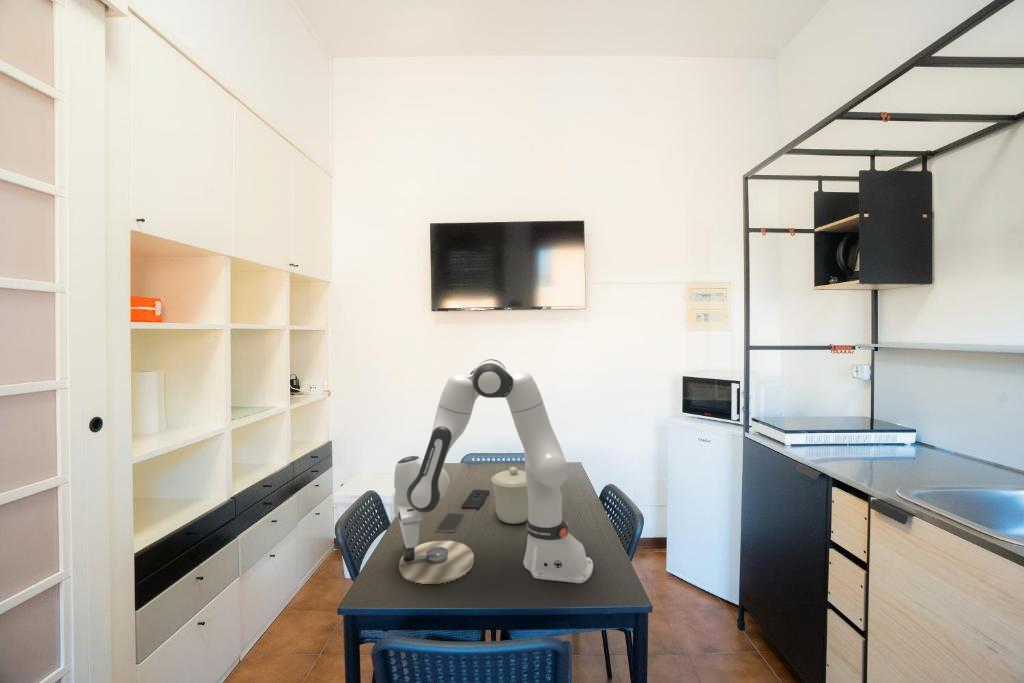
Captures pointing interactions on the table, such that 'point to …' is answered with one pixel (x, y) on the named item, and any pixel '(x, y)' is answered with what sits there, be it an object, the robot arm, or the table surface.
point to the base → (438, 564)
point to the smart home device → (475, 499)
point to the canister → (511, 495)
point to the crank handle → (431, 556)
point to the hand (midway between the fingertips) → (407, 548)
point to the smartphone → (450, 522)
